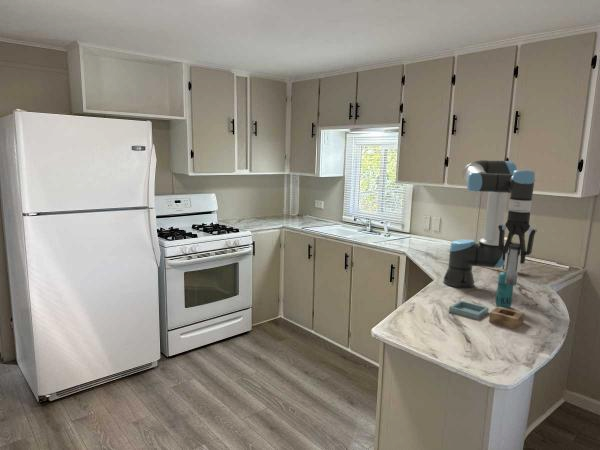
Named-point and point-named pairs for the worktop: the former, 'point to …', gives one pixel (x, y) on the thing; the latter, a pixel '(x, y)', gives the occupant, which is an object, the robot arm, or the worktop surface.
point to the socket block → (506, 317)
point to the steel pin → (512, 263)
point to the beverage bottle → (504, 291)
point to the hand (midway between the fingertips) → (512, 269)
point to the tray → (468, 310)
